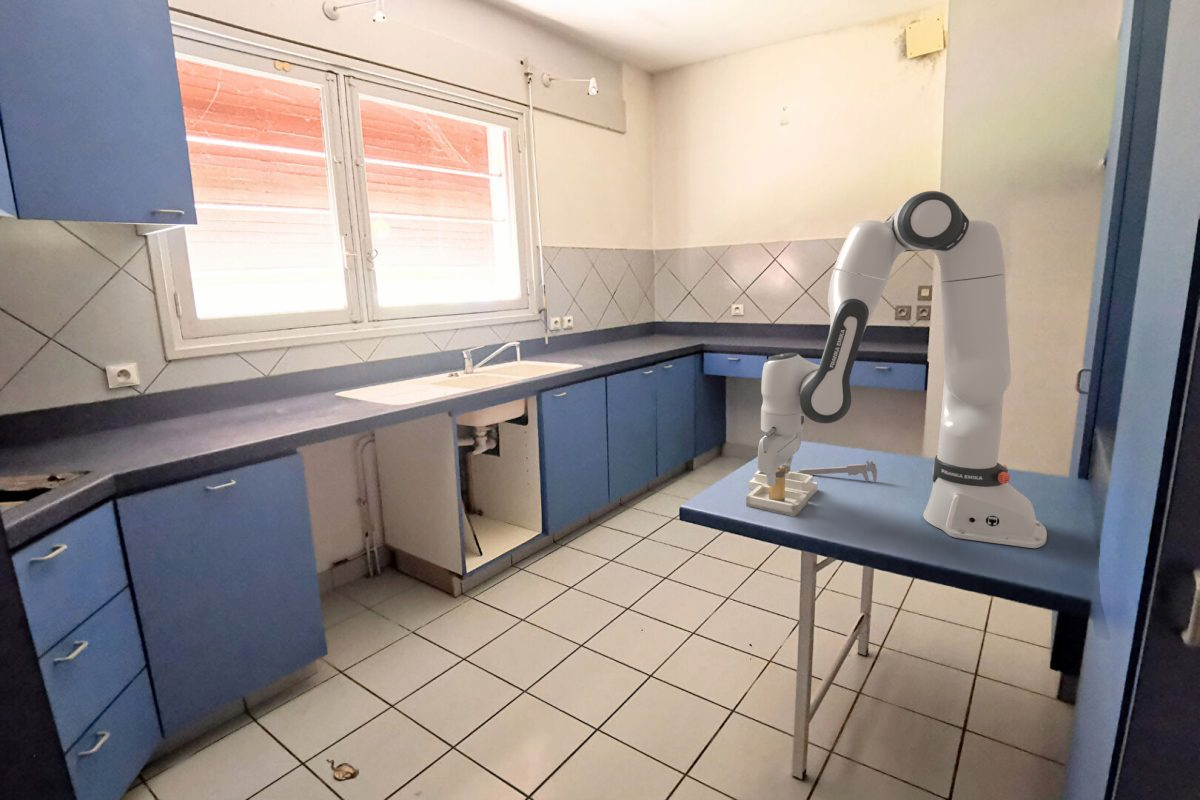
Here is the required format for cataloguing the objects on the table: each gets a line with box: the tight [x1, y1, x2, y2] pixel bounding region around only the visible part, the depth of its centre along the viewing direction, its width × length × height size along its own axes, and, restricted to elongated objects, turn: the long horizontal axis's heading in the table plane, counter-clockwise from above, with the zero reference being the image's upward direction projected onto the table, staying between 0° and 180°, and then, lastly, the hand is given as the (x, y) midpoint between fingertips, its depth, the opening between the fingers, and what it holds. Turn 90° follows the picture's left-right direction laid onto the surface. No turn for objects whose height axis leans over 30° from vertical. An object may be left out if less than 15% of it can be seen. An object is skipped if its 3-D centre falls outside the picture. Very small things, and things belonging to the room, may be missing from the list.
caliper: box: [795, 459, 878, 483], centre depth 159 cm, size 20×1×6 cm, turn 65°
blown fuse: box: [769, 466, 786, 502], centre depth 143 cm, size 4×4×8 cm
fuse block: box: [748, 470, 819, 501], centre depth 152 cm, size 15×8×10 cm, turn 55°
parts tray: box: [745, 484, 809, 517], centre depth 144 cm, size 12×9×2 cm
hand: (779, 478), depth 142 cm, fingers open, 8 cm apart
